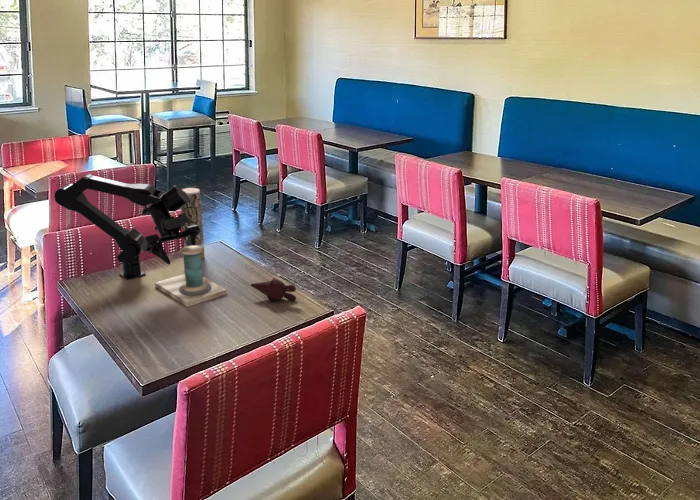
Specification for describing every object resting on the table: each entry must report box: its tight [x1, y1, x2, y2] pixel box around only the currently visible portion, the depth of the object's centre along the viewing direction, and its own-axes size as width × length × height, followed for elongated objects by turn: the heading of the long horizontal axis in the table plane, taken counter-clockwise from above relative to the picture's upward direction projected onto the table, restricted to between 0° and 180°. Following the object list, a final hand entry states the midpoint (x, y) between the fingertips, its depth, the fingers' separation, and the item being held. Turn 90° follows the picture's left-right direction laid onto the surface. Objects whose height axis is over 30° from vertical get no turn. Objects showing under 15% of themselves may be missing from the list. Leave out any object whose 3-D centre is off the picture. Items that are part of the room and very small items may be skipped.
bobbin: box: [180, 246, 207, 293], centre depth 202 cm, size 8×8×13 cm
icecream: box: [250, 277, 297, 302], centre depth 200 cm, size 7×7×15 cm
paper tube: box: [180, 187, 205, 260], centre depth 229 cm, size 7×7×25 cm
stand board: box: [154, 273, 228, 307], centre depth 206 cm, size 20×14×2 cm
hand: (182, 260), depth 206 cm, fingers open, 9 cm apart
